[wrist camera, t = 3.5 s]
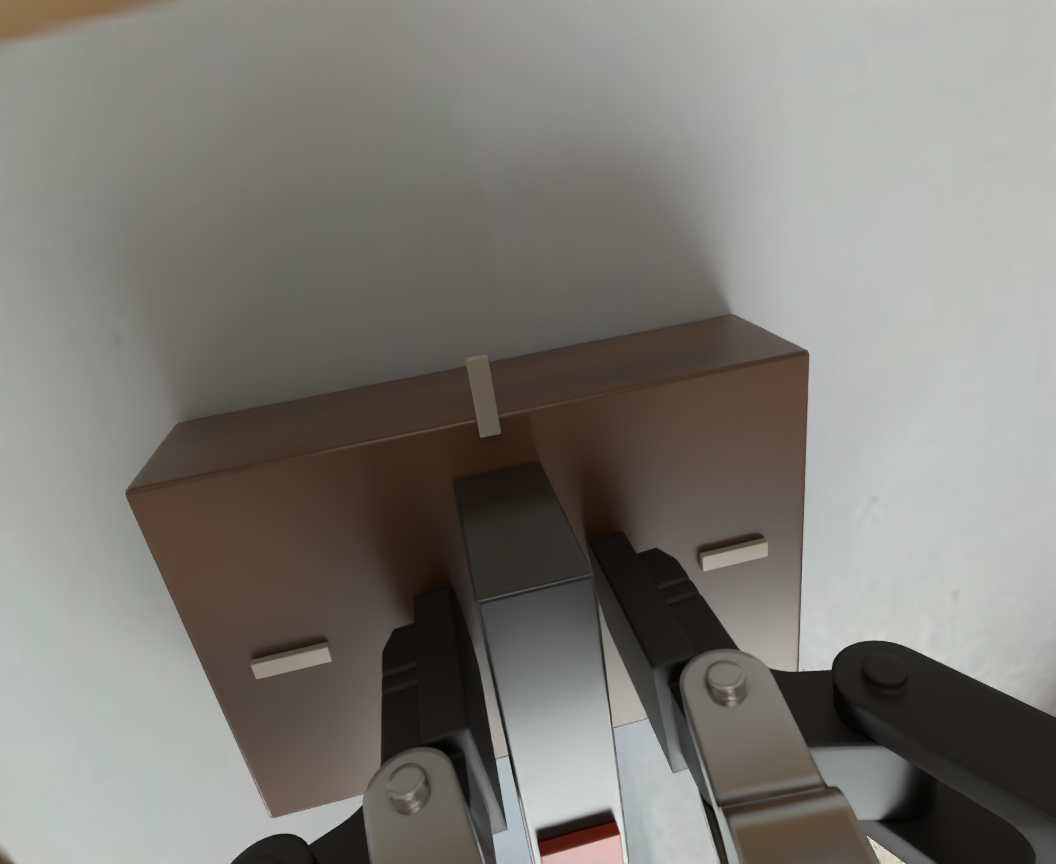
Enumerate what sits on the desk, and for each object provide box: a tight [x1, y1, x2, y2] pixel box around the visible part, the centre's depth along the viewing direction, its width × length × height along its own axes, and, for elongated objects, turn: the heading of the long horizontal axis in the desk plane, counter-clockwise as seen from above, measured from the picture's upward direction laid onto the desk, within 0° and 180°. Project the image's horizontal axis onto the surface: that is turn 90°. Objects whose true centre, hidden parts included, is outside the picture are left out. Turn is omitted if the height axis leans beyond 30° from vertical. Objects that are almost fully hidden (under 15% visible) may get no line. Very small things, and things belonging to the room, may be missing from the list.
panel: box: [126, 314, 809, 818], centre depth 14 cm, size 10×12×3 cm
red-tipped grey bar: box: [453, 462, 629, 864], centre depth 11 cm, size 6×2×4 cm, turn 8°
